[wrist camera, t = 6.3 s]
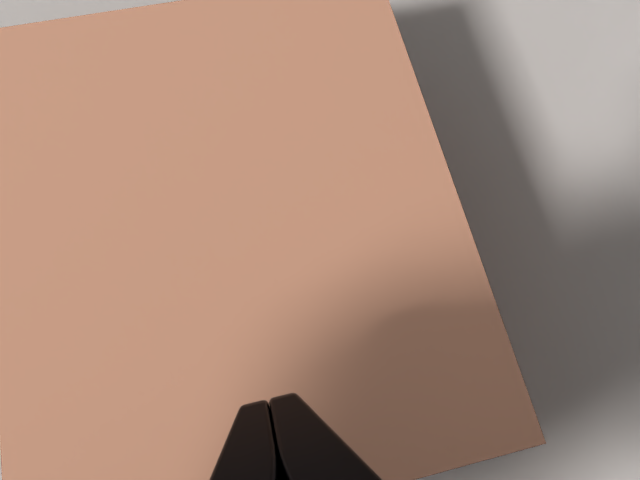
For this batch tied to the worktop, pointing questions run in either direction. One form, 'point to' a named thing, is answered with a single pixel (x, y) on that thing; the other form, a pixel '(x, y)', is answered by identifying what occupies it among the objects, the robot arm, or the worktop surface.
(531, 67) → the worktop surface
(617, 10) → the worktop surface
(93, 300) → the tan flat block
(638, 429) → the worktop surface
